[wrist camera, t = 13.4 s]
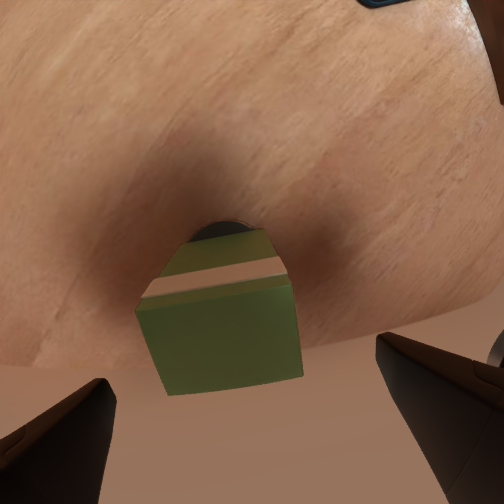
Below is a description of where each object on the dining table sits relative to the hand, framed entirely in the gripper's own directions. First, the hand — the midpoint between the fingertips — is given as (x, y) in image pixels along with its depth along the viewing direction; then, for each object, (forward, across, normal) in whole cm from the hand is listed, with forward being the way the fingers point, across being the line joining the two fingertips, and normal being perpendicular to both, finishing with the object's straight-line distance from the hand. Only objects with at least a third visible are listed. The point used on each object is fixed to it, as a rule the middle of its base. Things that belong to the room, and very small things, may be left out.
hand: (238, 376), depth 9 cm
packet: (+10, +1, +3) cm, 11 cm away
